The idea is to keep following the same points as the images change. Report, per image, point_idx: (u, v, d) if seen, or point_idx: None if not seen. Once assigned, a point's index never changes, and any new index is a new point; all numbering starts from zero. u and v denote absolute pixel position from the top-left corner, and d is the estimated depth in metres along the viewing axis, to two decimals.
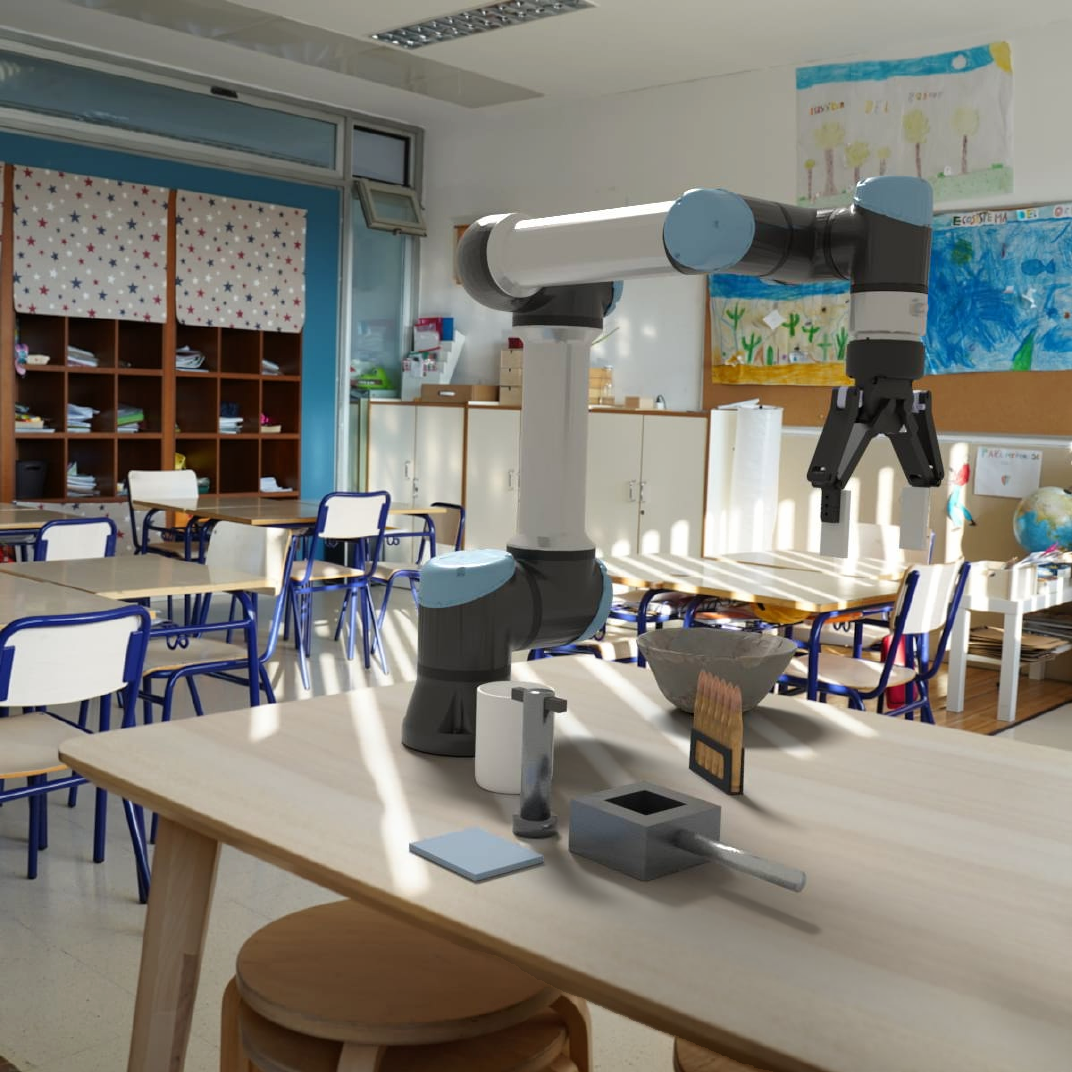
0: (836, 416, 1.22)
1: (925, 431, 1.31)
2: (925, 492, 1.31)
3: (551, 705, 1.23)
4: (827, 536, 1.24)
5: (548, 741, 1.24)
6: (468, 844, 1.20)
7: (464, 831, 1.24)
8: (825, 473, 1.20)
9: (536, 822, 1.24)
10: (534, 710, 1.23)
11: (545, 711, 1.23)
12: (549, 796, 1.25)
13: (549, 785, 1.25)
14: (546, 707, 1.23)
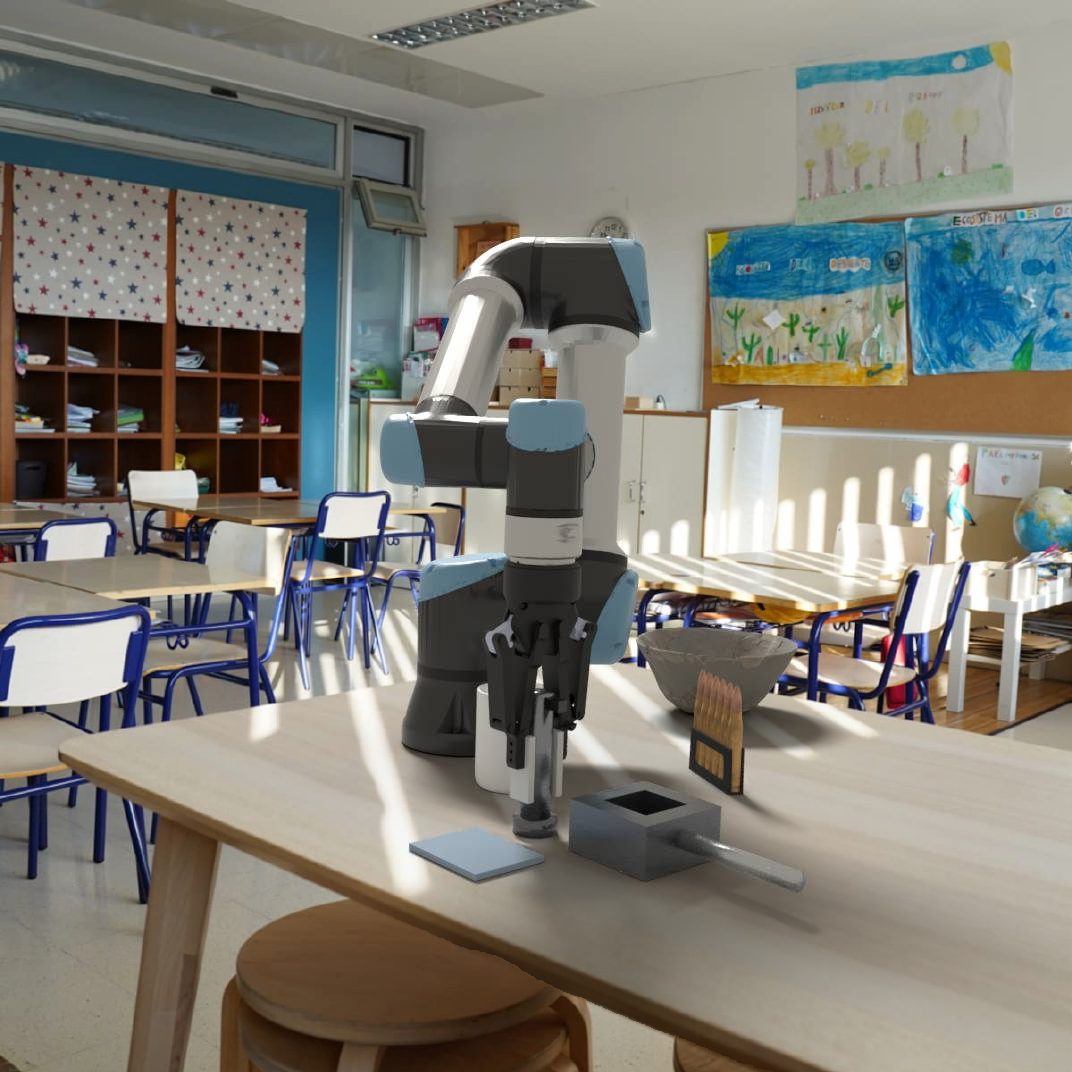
0: (493, 664, 1.21)
1: (578, 661, 1.27)
2: (558, 736, 1.25)
3: (551, 705, 1.23)
4: (515, 779, 1.25)
5: (548, 741, 1.24)
6: (468, 844, 1.20)
7: (464, 831, 1.24)
8: (504, 724, 1.21)
9: (536, 822, 1.24)
10: (534, 710, 1.23)
11: (545, 711, 1.23)
12: (549, 796, 1.25)
13: (549, 785, 1.25)
14: (546, 707, 1.23)
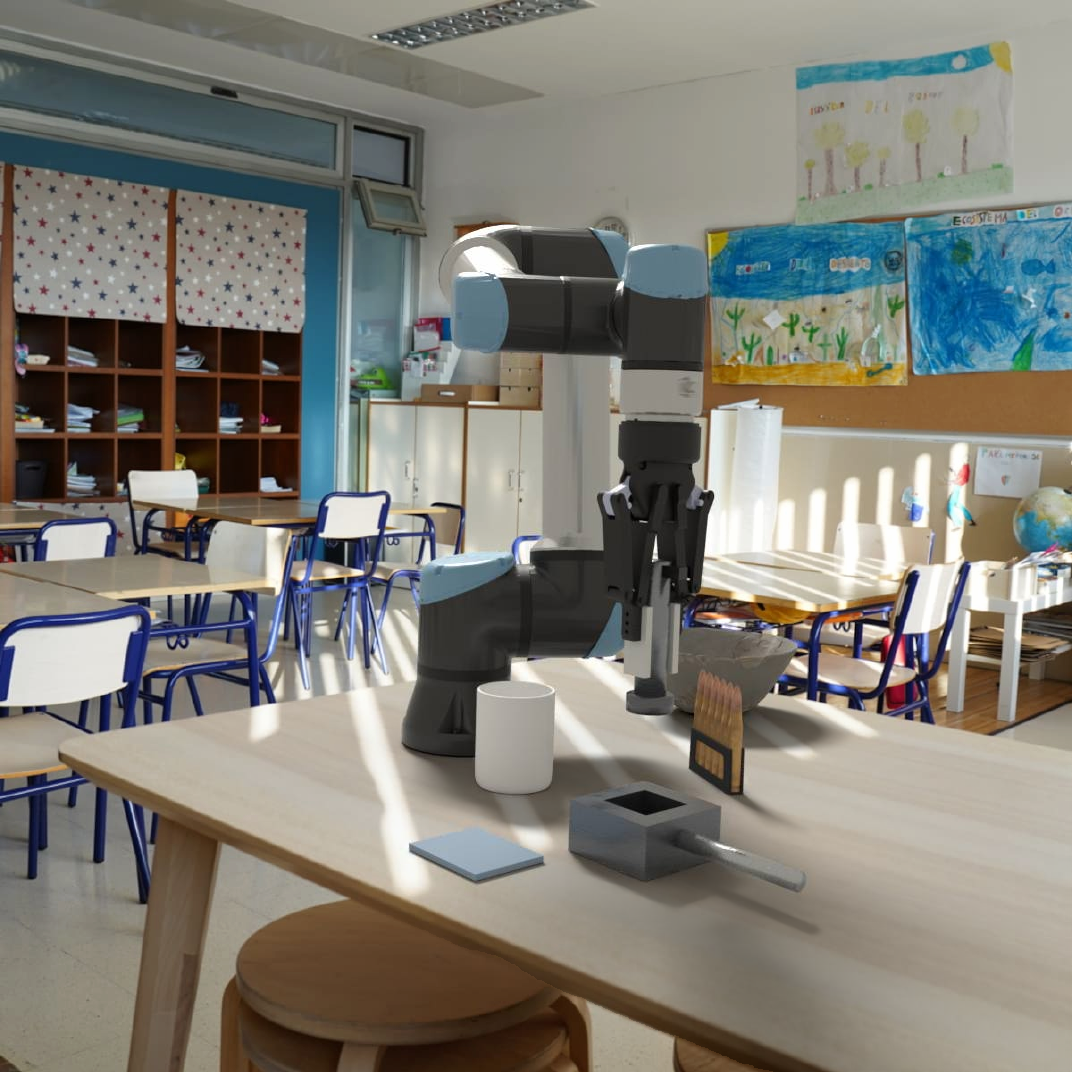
0: (610, 527, 1.14)
1: (695, 531, 1.20)
2: (674, 609, 1.18)
3: (670, 572, 1.15)
4: (630, 654, 1.17)
5: (665, 612, 1.17)
6: (468, 844, 1.20)
7: (464, 831, 1.24)
8: (621, 591, 1.14)
9: (653, 699, 1.17)
10: (651, 579, 1.16)
11: (662, 580, 1.16)
12: (666, 672, 1.18)
13: (666, 660, 1.18)
14: (664, 575, 1.16)
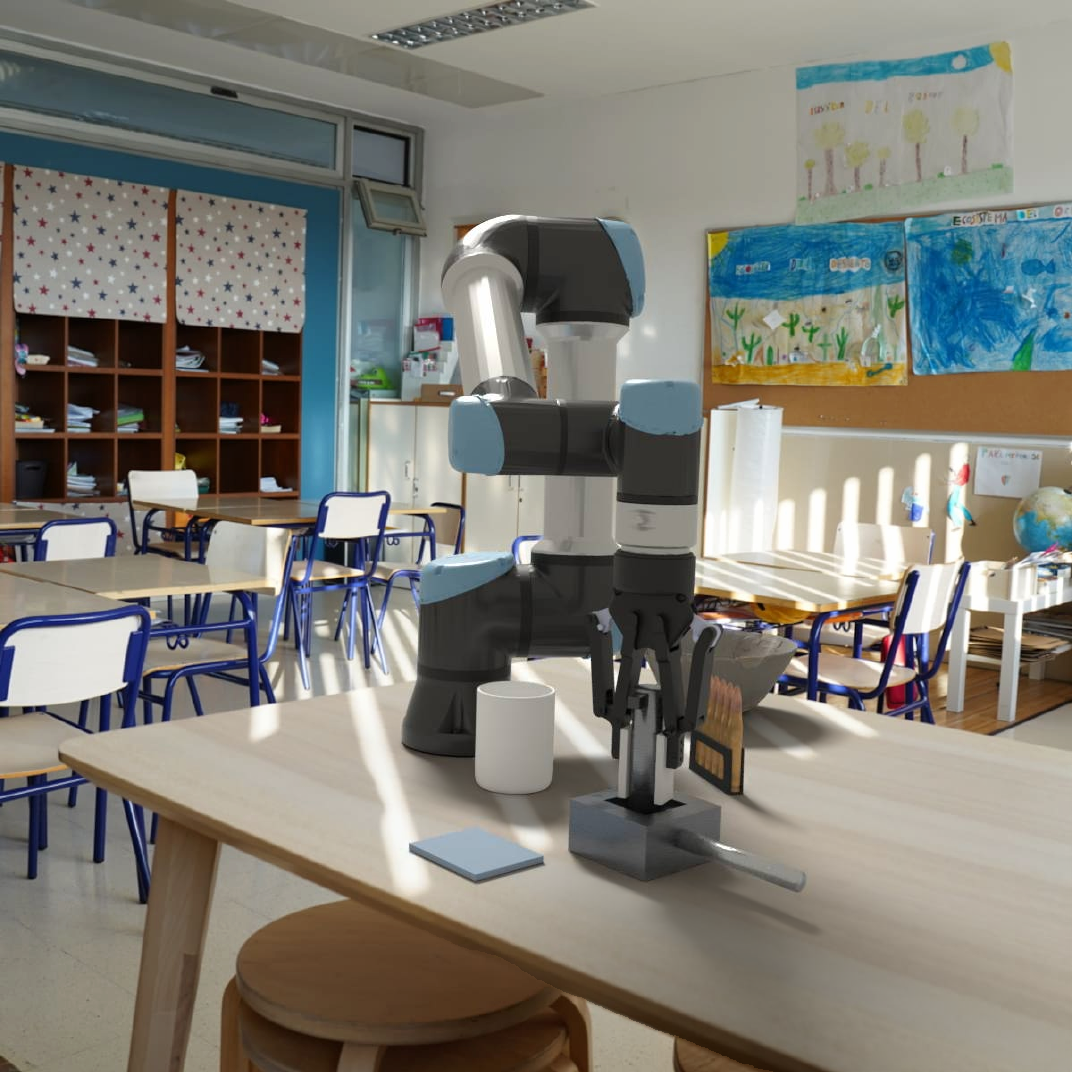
0: None
1: None
2: (657, 739, 1.17)
3: None
4: None
5: (642, 740, 1.18)
6: (468, 844, 1.20)
7: (464, 831, 1.24)
8: None
9: None
10: None
11: None
12: (645, 799, 1.18)
13: (644, 787, 1.18)
14: None
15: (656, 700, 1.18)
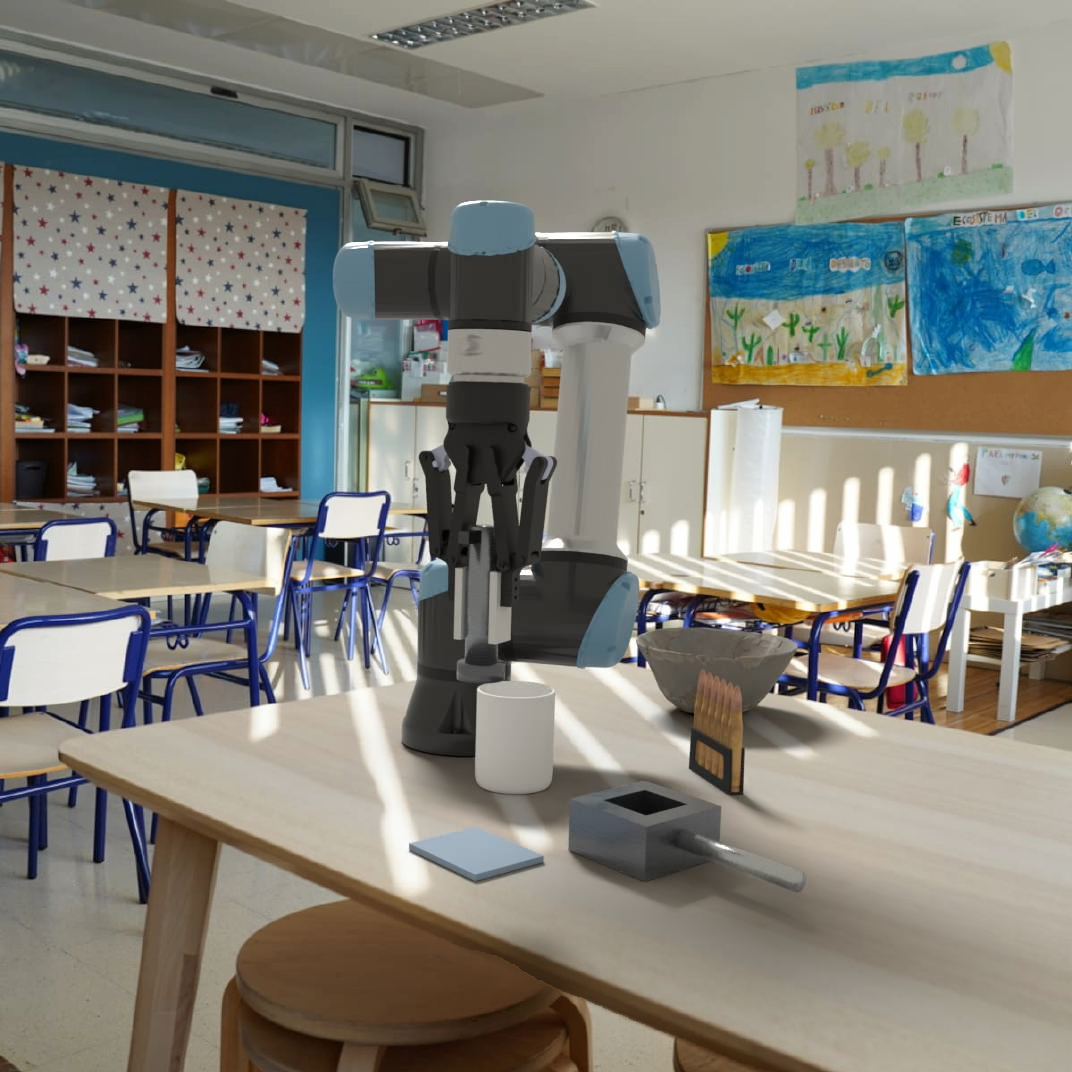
0: None
1: None
2: (490, 576, 1.14)
3: None
4: None
5: (475, 578, 1.15)
6: (468, 844, 1.20)
7: (464, 831, 1.24)
8: None
9: (460, 663, 1.16)
10: None
11: (471, 544, 1.15)
12: (479, 640, 1.15)
13: (478, 628, 1.15)
14: None
15: (489, 537, 1.14)
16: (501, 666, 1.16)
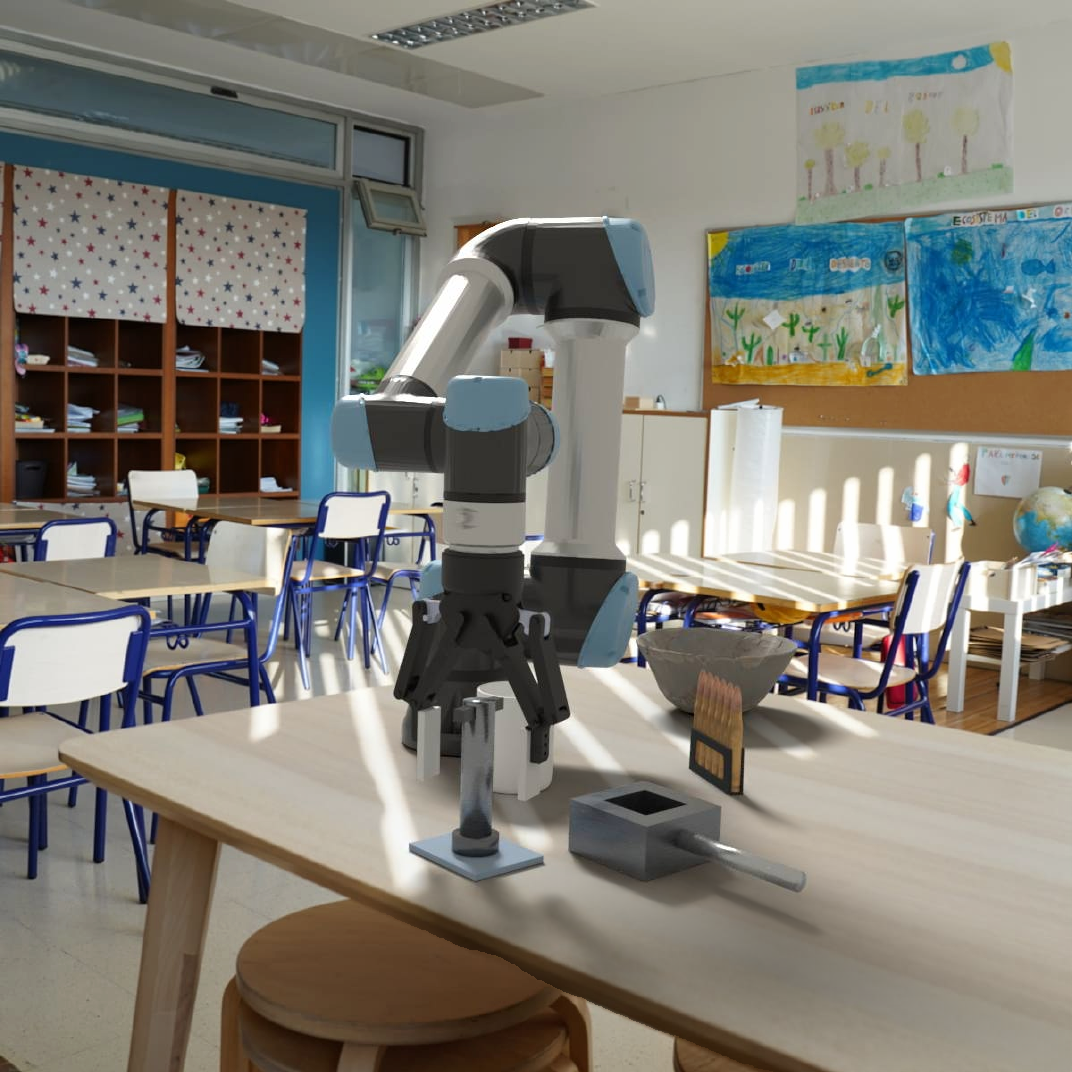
0: None
1: None
2: (520, 733, 1.14)
3: None
4: None
5: (470, 753, 1.16)
6: None
7: None
8: None
9: (455, 835, 1.18)
10: None
11: None
12: (473, 814, 1.17)
13: (473, 802, 1.17)
14: None
15: (484, 713, 1.16)
16: (495, 839, 1.17)
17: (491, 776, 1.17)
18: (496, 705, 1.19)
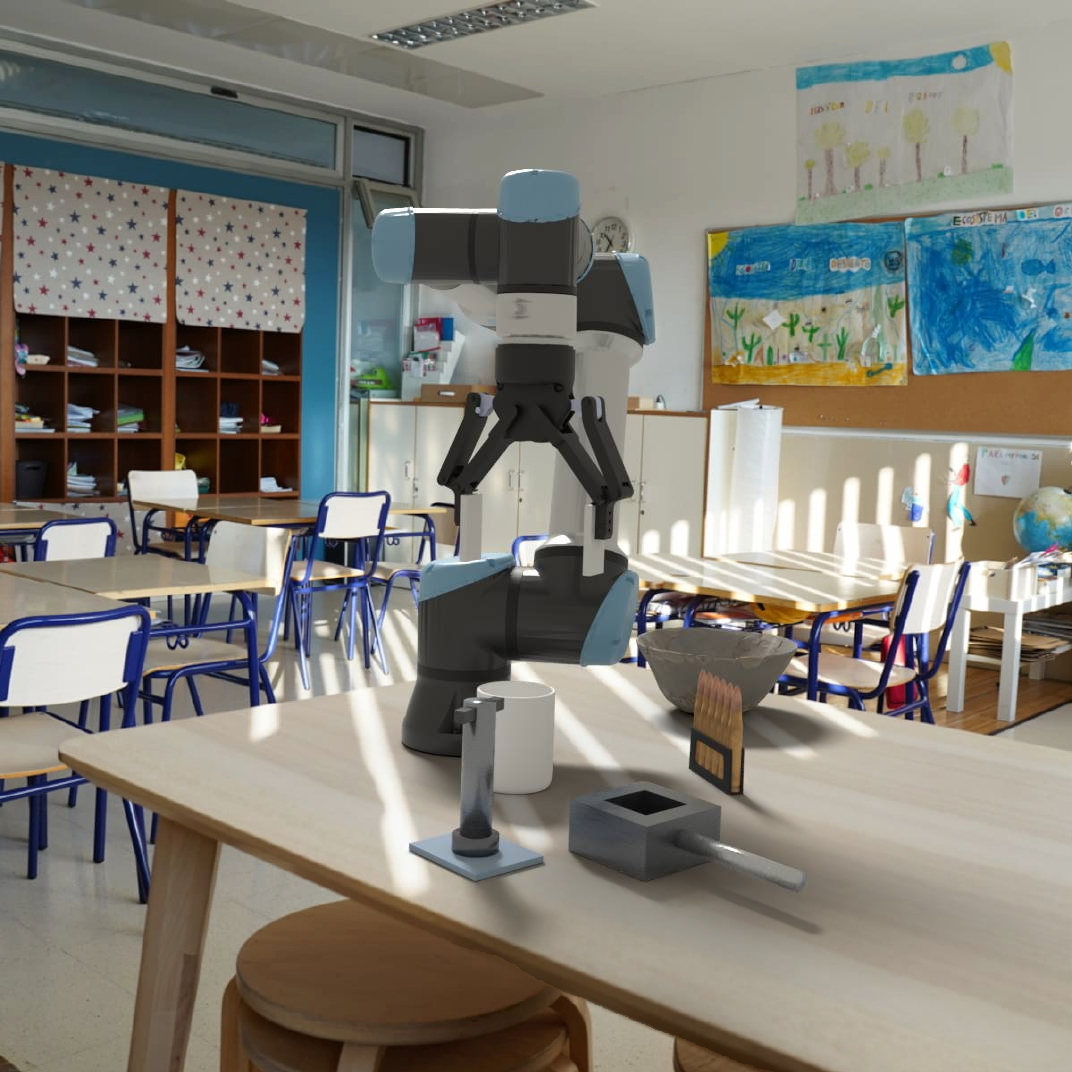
0: None
1: None
2: (585, 510, 1.17)
3: None
4: None
5: (471, 754, 1.16)
6: None
7: None
8: None
9: (455, 835, 1.18)
10: None
11: None
12: (473, 815, 1.17)
13: (473, 803, 1.17)
14: None
15: (485, 714, 1.16)
16: (495, 839, 1.17)
17: (491, 777, 1.17)
18: (497, 706, 1.19)
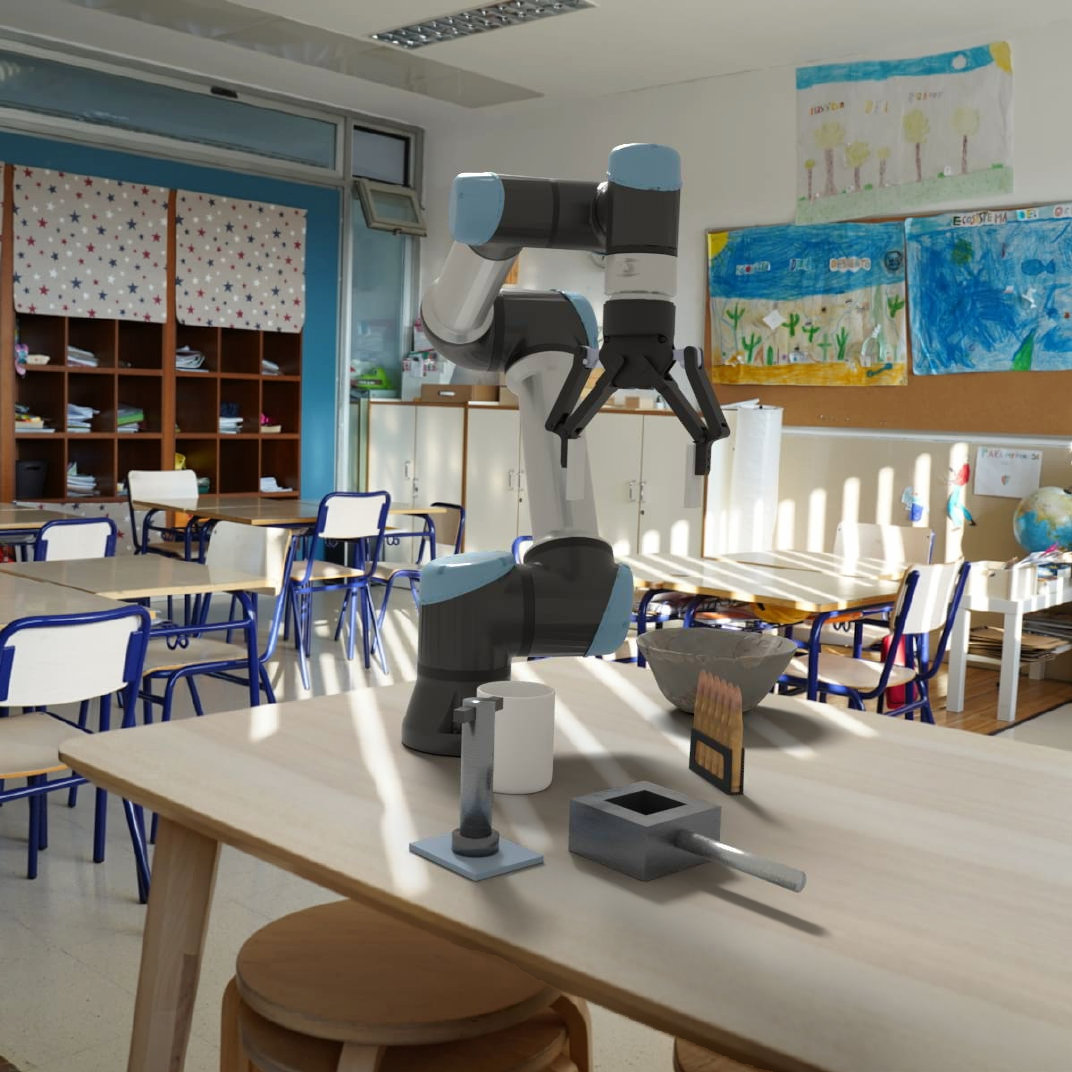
0: None
1: None
2: (687, 448, 1.30)
3: None
4: None
5: (470, 754, 1.16)
6: None
7: None
8: None
9: (455, 835, 1.18)
10: None
11: None
12: (473, 814, 1.17)
13: (473, 802, 1.17)
14: None
15: (484, 714, 1.16)
16: (495, 839, 1.17)
17: (491, 776, 1.17)
18: (496, 705, 1.19)
